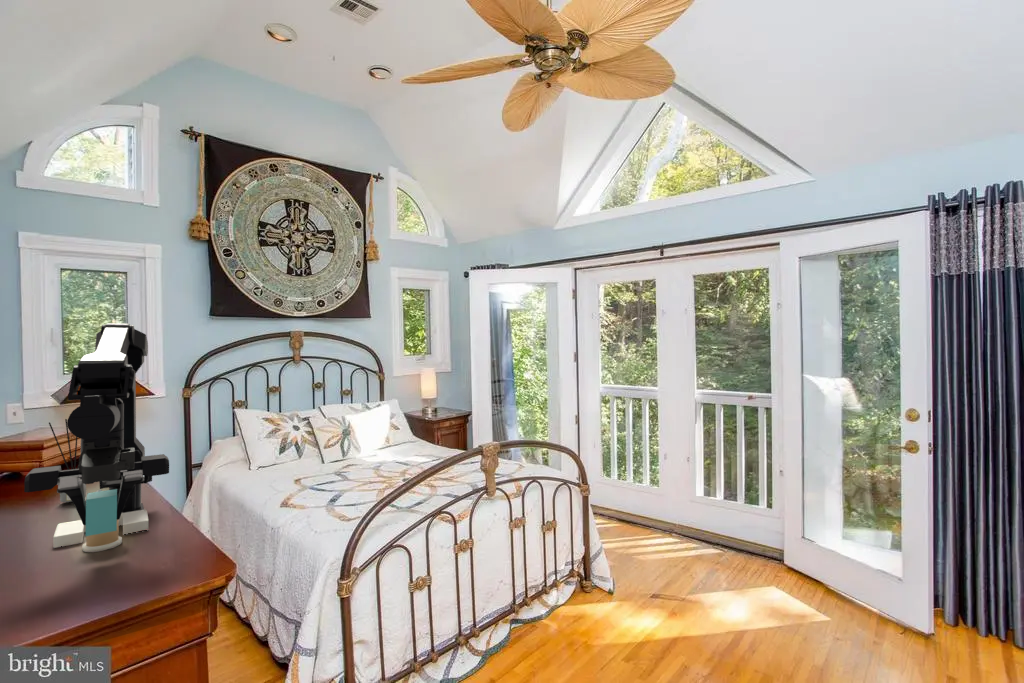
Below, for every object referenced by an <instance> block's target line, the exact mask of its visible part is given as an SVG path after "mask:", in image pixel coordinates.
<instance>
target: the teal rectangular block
mask: <svg viewBox="0 0 1024 683" xmlns="http://www.w3.org/2000/svg"><path fill="white" fill-rule="evenodd" d="M85 503H86V532H85V537H86V536H90V535H96V534H101V533H107V532H112V531H117V489H114V490H109V489H108V490H102V491H100V492H96V491H94V492H86V497H85Z"/></svg>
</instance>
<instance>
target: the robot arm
mask: <svg viewBox="0 0 1024 683" xmlns="http://www.w3.org/2000/svg"><path fill="white" fill-rule="evenodd" d="M148 344H149V343H148V338H147V334H146V333H144V332H142V331H140V330H138V329H137V328H136V329H135V326H134V324H130V323H110V322H109V323H105V324H101V329H100V331H98V332H97V333H96V336H95V348H94V352H91V353H87V354H84V355H83V356H81V358H80V359H79V360H78V362H77V365H76V364H75V365H73V368H72V374H71V378H70V384H69V389H68V396H67V400H68V401H79V402H80V404H79V406H78V407H76V408H75V409H73V410H72V411H71V413H70V414H69V416H68V418H67V426H68V431H69V432H70V433H71V434H72V435H73V436H74V437H75V438H76V437H77V439H80V456H79V457H78V458H79V459H78V464H79V468H78V469H77V468H75V469H74V468H73V469H72V468H71V469H69V470H68V469H64V470H62V465H54V466H52V465H51V466H45V467H44V466H43V467H37V468H32V469H31V470H30V471H29V472H28V473H27V474H26V476H25V477H24V484H23V485H24V486H23V487H24V488H23V490H24V493H33V492H41V491H49V490H52V489H53V488H54V487H56V486H57V488H56V493H57V494H60V493H66V494H67V495H68V496H69V498H70V499H71V500H72V504H73V505H74V507H75V509H76V512H77V514H78V516H79V518H80V520H81V521H82V523H83V525H86V497H85V496H84V489H83V483H84V484H86V485H92V484H94V483H98V484H99V490H103V489H107V488H108V490H114V489H117V520H118V519H120V516H121V514H122V513H126V512H132V511H138V510H144V509H145V508H144V503H143V502H142V485H143V484H149V483H151V482H152V481H153V476H154V477H155V476H161V475H168V474H170V460H169V458H168V456H167V455H165V454H161V453H160V454H152V455H146V454H145V453H146V450H145V449H146V448H145V446H144V445H143V443H142V442H141V441H140V440H139V439H138V438H137V402H136V401H137V396H136V395H137V393H136V392H137V390H136V389H137V387H136V386H137V380H136V377H137V375H136V373H138V371H139V370H140V368H141V367H142V365H143V364H144V363H145V357H147V356H148V352H149V345H148ZM81 479H82V481H81Z"/></svg>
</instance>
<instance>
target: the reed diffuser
mask: <svg viewBox="0 0 1024 683" xmlns="http://www.w3.org/2000/svg"><path fill="white" fill-rule="evenodd" d="M67 421H68V418H65V429H66V436H67V444H68V452H69V458H70V466H71V467H69V464H68V462H67V460H66V458H65V454H64V453H63V449H62V447H61V446H60V443H59V440H58V438H57V436H56V433H55V432H54V428H53V427H52V423H51V422H48V425H49V427H50V430H51V432H52V434H53V437H54V439H55V441H56V445H57V446H58V449H59V451H60V454H61V456H62V459H63V462H64V463H65V466H66V468H67V469H66V470H70V468H71V470H72V469H79V463H78V465H77V467H76V463H77V449H78V447H77V446H78V437H76V436H75V447H74V448H75V449H74V463H73V459H72V457H73V456H72V451H71V450H72V449H71V442H70V437H69V436H70V435H69V434H70V433H69V429H68V425H67ZM73 464H74V465H73ZM81 481H82V479H81ZM83 489H84V496H85V498H87V484H84V483H83ZM100 491H103V489H97V490H96V491H95V492H100ZM59 501H60V503H69V502H70V503H71V502H72V500H71V499H70V498H69V496H68V495H67V494H66V493H59ZM72 503H73V502H72Z"/></svg>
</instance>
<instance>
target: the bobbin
mask: <svg viewBox="0 0 1024 683" xmlns="http://www.w3.org/2000/svg"><path fill="white" fill-rule="evenodd" d="M121 516H122V514H121ZM119 527H120V526H119V519H118V520H117V531H112V532H107V533H101V534H96V535H90V536H86V535H85V542H84V543H83V544H82V545H81V546H82V548H81V550H82V552H84V553H97V552H102V551H107V550H111V549H113V548H116V547H118V546H120V545H121V544H122V543H123V537H122V536H120V535H119V534H120V532H119V529H120V528H119Z"/></svg>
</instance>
